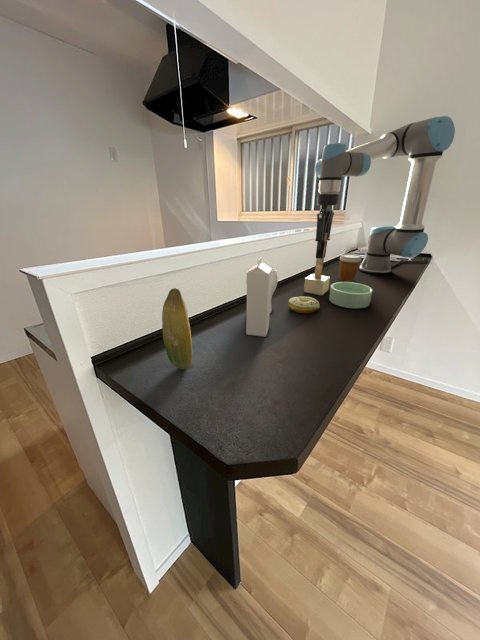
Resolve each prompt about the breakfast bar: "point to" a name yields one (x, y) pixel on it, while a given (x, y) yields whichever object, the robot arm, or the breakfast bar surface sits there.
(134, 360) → the breakfast bar surface
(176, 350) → the vegetable
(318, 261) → the stirring stick
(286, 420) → the breakfast bar surface
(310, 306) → the decorated donut
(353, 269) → the disposable coffee cup
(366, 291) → the bowl
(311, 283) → the stand
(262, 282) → the milk
